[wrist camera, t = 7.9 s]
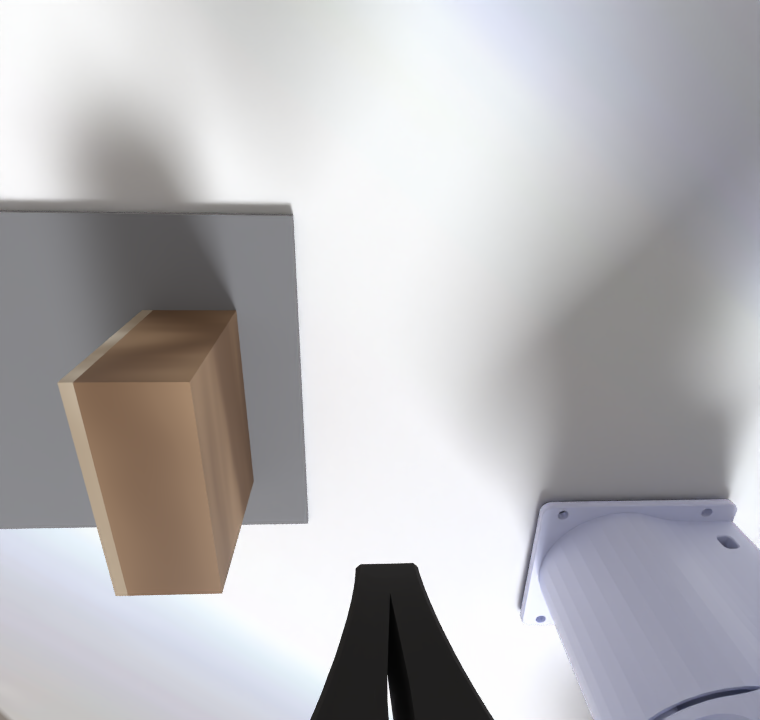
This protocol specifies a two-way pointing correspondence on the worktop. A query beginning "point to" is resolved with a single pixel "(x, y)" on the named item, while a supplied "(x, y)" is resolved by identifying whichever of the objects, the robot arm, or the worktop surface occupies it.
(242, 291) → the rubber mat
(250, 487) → the brown wooden block
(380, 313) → the worktop surface
